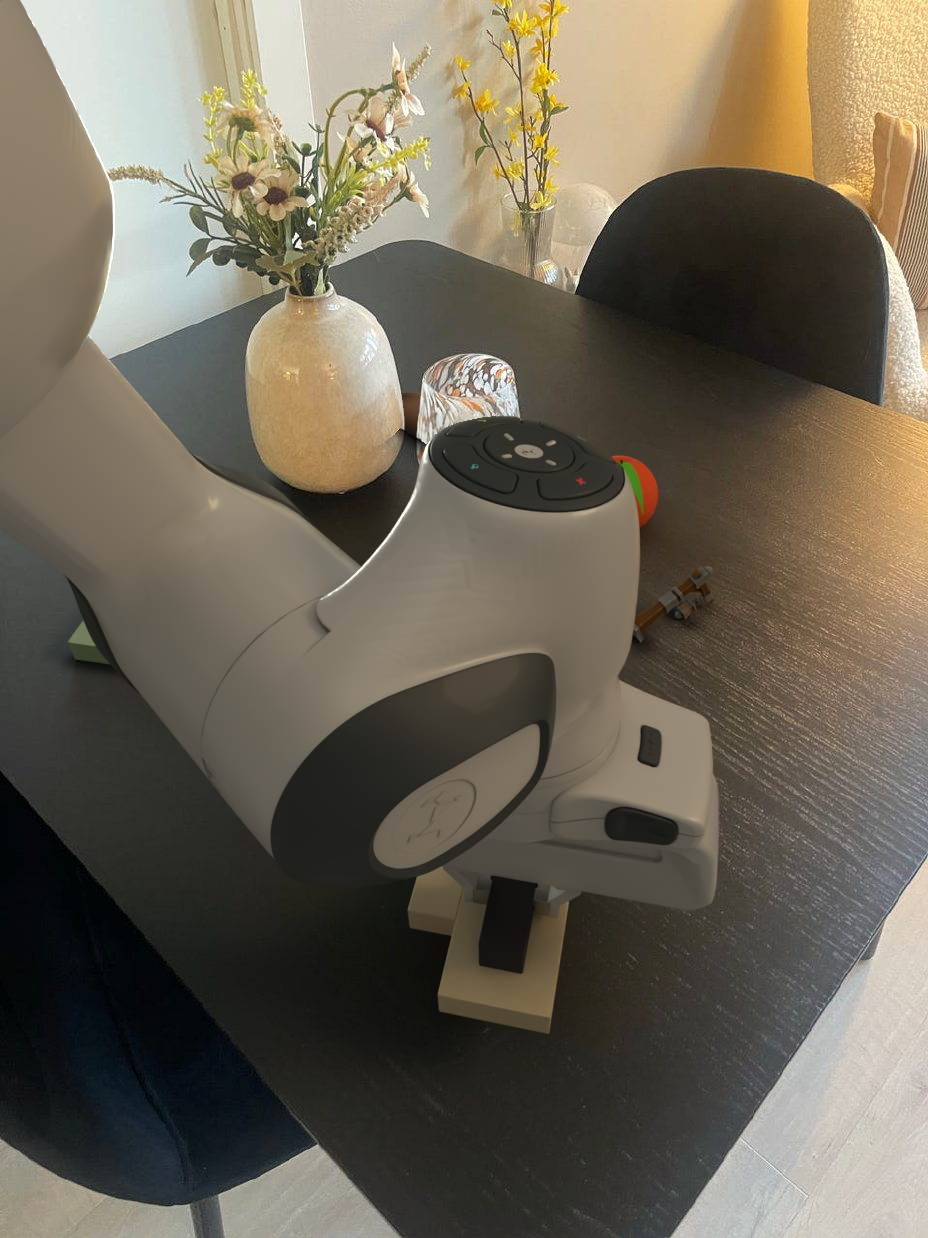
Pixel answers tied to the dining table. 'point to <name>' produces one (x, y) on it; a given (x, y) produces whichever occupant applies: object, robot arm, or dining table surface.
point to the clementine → (641, 486)
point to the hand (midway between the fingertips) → (514, 898)
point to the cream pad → (463, 954)
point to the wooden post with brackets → (676, 601)
